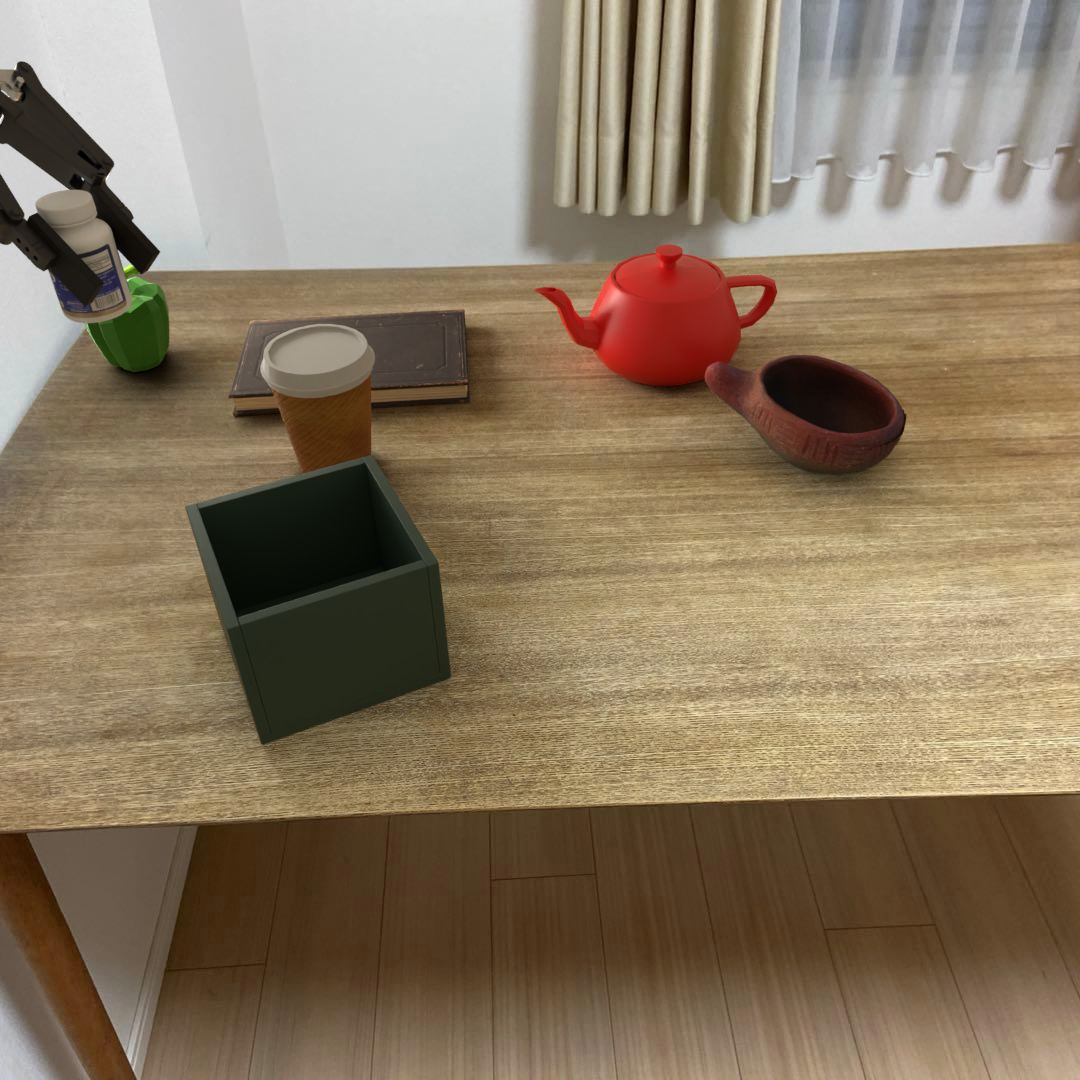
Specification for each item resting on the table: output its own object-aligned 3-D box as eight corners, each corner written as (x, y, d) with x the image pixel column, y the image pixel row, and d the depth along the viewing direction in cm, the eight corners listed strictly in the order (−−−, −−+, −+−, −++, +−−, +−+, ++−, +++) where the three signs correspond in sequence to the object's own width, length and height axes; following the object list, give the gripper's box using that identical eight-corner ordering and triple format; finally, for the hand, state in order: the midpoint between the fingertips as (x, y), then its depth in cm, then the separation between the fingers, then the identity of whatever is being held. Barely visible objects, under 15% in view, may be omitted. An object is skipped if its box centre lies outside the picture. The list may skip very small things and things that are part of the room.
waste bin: (261, 745, 68) (226, 629, 61) (219, 617, 77) (184, 505, 70) (451, 677, 72) (438, 562, 65) (389, 565, 82) (372, 454, 75)
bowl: (854, 410, 98) (870, 335, 93) (917, 488, 88) (938, 409, 83) (693, 430, 96) (700, 355, 91) (739, 512, 86) (750, 433, 81)
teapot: (743, 314, 113) (755, 207, 105) (796, 385, 101) (815, 271, 94) (522, 339, 110) (518, 230, 102) (551, 416, 98) (549, 299, 90)
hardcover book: (469, 402, 100) (468, 382, 99) (233, 416, 99) (228, 395, 98) (465, 325, 113) (464, 306, 111) (255, 336, 111) (251, 317, 110)
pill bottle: (72, 296, 82) (36, 187, 77) (138, 292, 83) (107, 183, 77) (56, 327, 78) (16, 214, 73) (126, 322, 79) (92, 210, 73)
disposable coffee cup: (377, 428, 97) (361, 313, 89) (399, 484, 90) (383, 365, 82) (277, 447, 95) (251, 331, 87) (290, 507, 88) (264, 386, 80)
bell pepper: (109, 389, 103) (79, 298, 97) (92, 355, 109) (62, 267, 103) (191, 366, 107) (167, 277, 100) (170, 334, 112) (146, 248, 106)
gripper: (-27, 30, 81) (184, 259, 86) (-248, 93, 68) (15, 358, 73) (-2, -41, 76) (221, 207, 81) (-236, 13, 63) (46, 303, 68)
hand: (123, 278), depth 77 cm, fingers closed on pill bottle, 5 cm apart
